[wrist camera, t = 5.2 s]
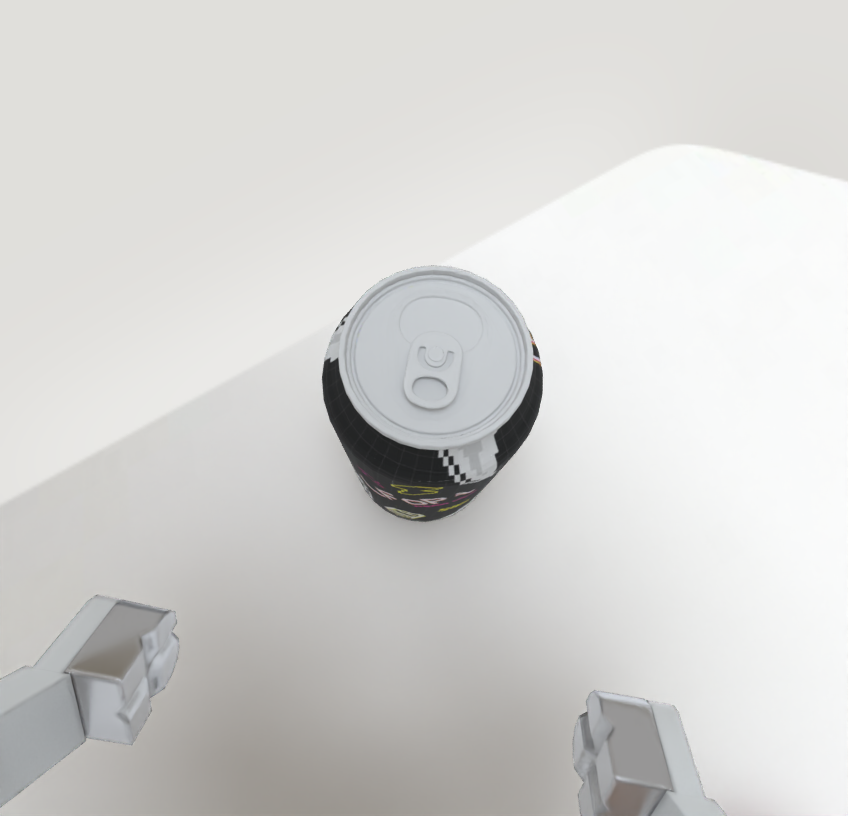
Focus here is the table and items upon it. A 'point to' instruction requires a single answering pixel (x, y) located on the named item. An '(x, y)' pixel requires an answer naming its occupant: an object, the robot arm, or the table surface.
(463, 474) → the beverage can
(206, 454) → the table surface
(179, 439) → the table surface
